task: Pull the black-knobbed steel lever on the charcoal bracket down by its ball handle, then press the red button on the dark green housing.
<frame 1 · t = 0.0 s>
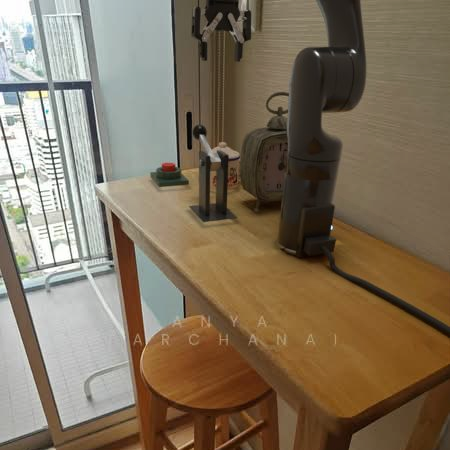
hand: (221, 61, 99), 29 cm above the table, tool pointing down, fingers open, 8 cm apart
bracket: (212, 216, 92), on the table
button box: (169, 184, 111), on the table
button: (168, 167, 109), point 4 cm above the table, slide at 0.1 cm
lever: (206, 146, 88), point 14 cm above the table, hinge at 25.0°
tabletop clock: (269, 209, 98), on the table
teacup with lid: (226, 188, 110), on the table
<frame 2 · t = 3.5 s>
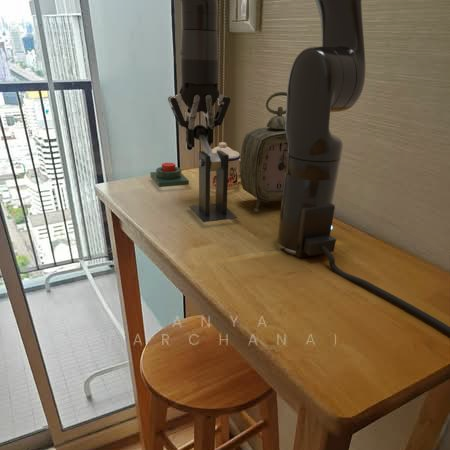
hand: (199, 145, 92), 13 cm above the table, tool pointing down, fingers closed on lever, 3 cm apart
lever: (206, 146, 88), point 14 cm above the table, hinge at 25.0°, touching gripper
everything else where it was.
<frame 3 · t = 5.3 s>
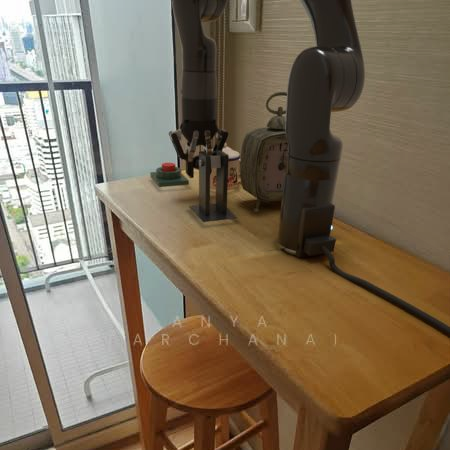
hand: (198, 176, 96), 6 cm above the table, tool pointing down, fingers closed on lever, 3 cm apart
lever: (205, 162, 90), point 11 cm above the table, hinge at -14.1°, touching gripper
everything else where it was.
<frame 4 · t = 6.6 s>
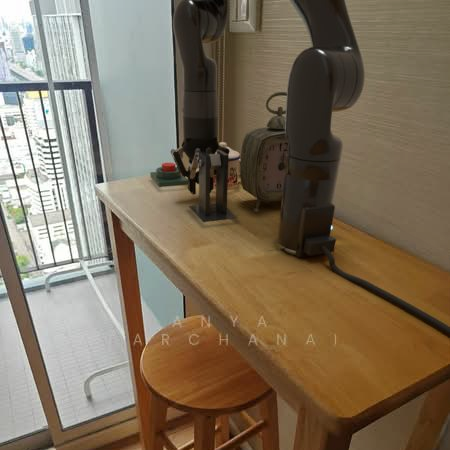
hand: (200, 192, 97), 3 cm above the table, tool pointing down, fingers closed on lever, 3 cm apart
lever: (206, 170, 90), point 9 cm above the table, hinge at -33.4°, touching gripper
everything else where it was.
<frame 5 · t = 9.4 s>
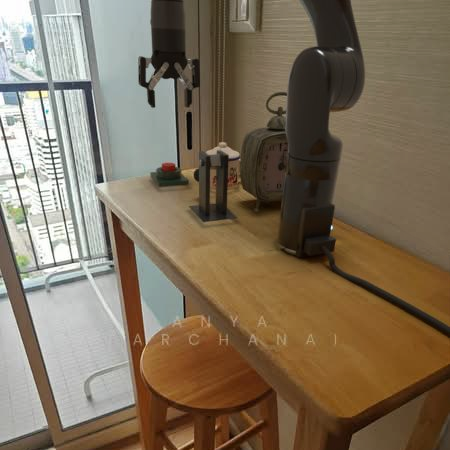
hand: (170, 107, 99), 19 cm above the table, tool pointing down, fingers open, 8 cm apart
lever: (206, 169, 90), point 9 cm above the table, hinge at -30.5°
everything else where it was.
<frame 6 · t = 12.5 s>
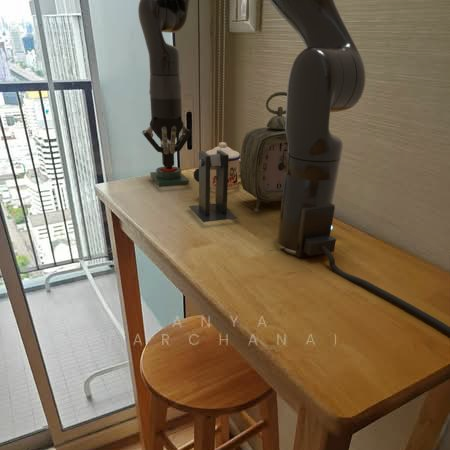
hand: (168, 167, 109), 4 cm above the table, tool pointing down, fingers closed
button: (168, 171, 109), point 4 cm above the table, slide at -0.8 cm, touching gripper
everything else where it was.
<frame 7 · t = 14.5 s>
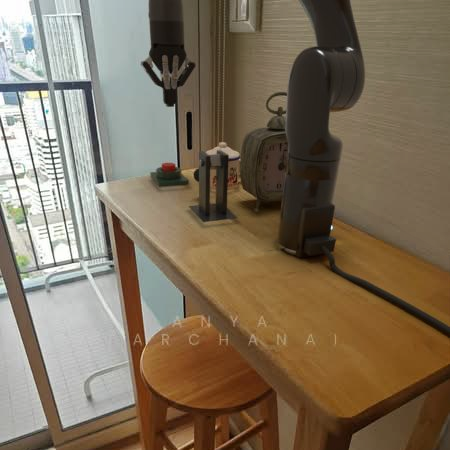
hand: (170, 106, 99), 20 cm above the table, tool pointing down, fingers closed
button: (168, 167, 109), point 4 cm above the table, slide at 0.1 cm
everything else where it was.
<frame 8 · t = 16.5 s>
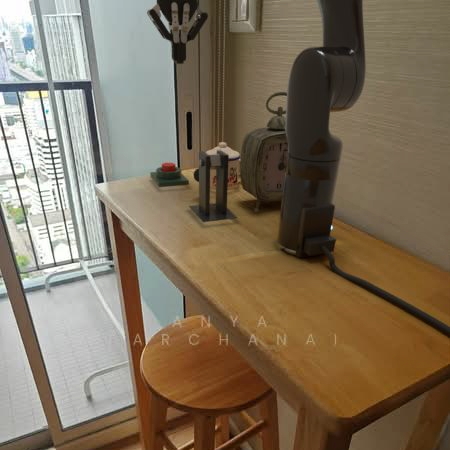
hand: (179, 63, 89), 29 cm above the table, tool pointing down, fingers closed
nothing on the table moved.
at the end: lever at -30° (first picture: +25°); button pushed in 1.1 cm at the most during the clip, back to where it started at the end; button slide at 0.1 cm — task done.
